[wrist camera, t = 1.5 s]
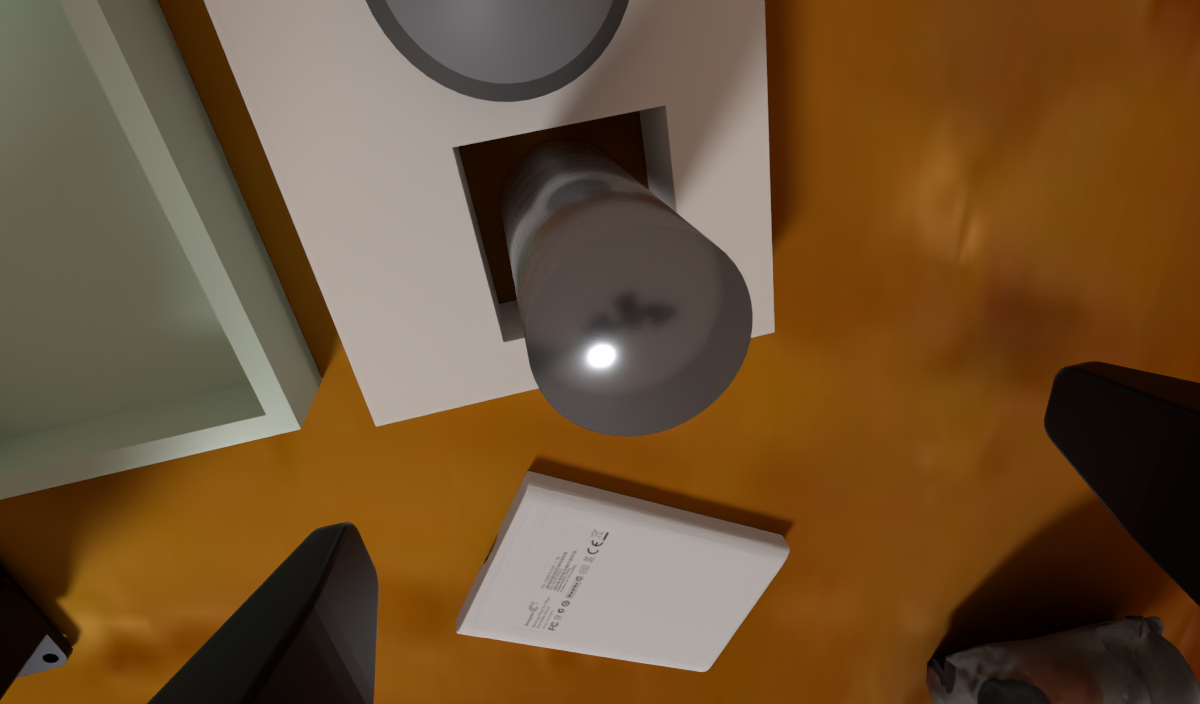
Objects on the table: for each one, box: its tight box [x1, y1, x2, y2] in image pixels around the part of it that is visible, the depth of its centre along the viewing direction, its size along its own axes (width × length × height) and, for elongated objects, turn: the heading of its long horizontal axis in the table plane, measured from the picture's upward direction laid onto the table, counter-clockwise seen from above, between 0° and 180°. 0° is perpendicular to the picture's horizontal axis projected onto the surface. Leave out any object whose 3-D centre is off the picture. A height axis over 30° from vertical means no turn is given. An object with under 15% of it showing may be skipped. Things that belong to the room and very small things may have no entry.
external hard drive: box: [456, 471, 790, 672], centre depth 27 cm, size 2×8×12 cm
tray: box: [0, 0, 322, 500], centre depth 16 cm, size 10×13×3 cm
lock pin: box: [500, 139, 753, 436], centre depth 15 cm, size 4×4×10 cm
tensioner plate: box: [204, 0, 775, 427], centre depth 16 cm, size 12×14×5 cm
